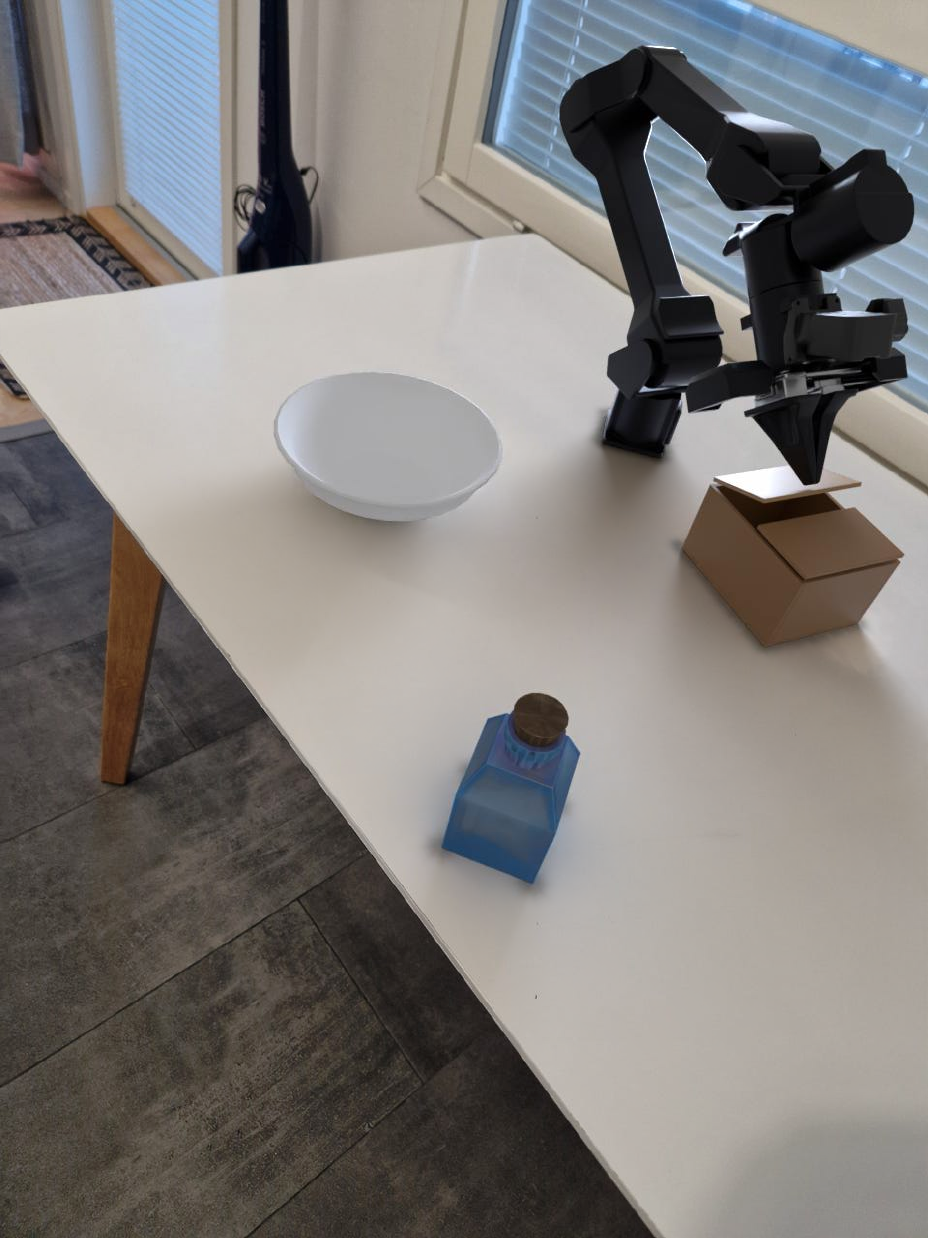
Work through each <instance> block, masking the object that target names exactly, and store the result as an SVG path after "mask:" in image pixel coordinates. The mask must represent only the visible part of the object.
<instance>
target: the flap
mask: <svg viewBox="0 0 928 1238" xmlns="http://www.w3.org/2000/svg"><path fill="white" fill-rule="evenodd" d="M713 482H714V483H715V484H717V483H719V484H721V485H723V486H725V487H728V488H730V489H732V490H735V491H737V492H739V493H741V494H744V495H746V496H748V497H750V498H753V499H755V500H757V501H760V502H762V503H769V502H775V501H781V500H786V499H792V498H798V497H803V496H809V495H815V494H820V493H826V492H828V493H831V492H837V491H843V490H848V489H854V488H859V487H860V488H861V487H862V483H863V482H862V481H860V480H858V479H855V478H851V477H850V476H849V477H848V476H846V475H844V474H840V473H837V472H835V471H832V470H830V469H828V468H825V467H823V470H822V475H821V479H820V482H819V483H818V484H813V485H807V486H804V485H803V484H802V483H801V481H800V480H799V478H798V477H797V476H796V474H795V473H794V471H793V470H792V468H791V467H790V466H789V464H788V465H782V466H775V467H769V468H763V469H762V468H761V469H756V470H749V471H744V472H737V473H730V474H725V475H717V476H713Z"/></svg>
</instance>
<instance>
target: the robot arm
mask: <svg viewBox="0 0 928 1238" xmlns="http://www.w3.org/2000/svg"><path fill="white" fill-rule="evenodd" d="M659 119H661V121H663V122H664V123H665V124H666V125H667V126H668V127H669V128H670V129H671V130H672V131H673V132H675V133H676V134H677V135H678V137H680V138H681V139H682V140H683V141H684V142H685V143H687V144H688V146H690V147H691V148H692V149H693V150H694V151H695V152H696V153H698V154H699V156H700V157H701V159H702V160H703V161H704V163H705V179H706V181H707V183H708V185H709V186H710V187H711V189H712V190H713V192H714V193H715V195H716V196H717V198H718V200H719V201H720V202H721V204H722V205H723V207H725V208H726V209H728V210H729V211H732V212H776V213H772V214H769V215H767V216H766V217H764V218H763V219H760V220H759V221H740V222H737V223H736V224H735V228H734V231H733V233H732V234H731V236H730V237H729V238H728V239H727V240H726V242H725V244H724V246H723V248H722V251H721V253H722V256H723V257H724V258H728V257H729V258H731V257H742V264H743V265H742V266H743V271H744V278H745V285H746V292H747V300H748V307H749V314H747V315H745V316H742V317H741V318H739V321H740V328H741V332H743V331H744V332H745V331H752V336H753V342H754V349H755V350H754V351H755V357H756V359H754V360H742V361H732V362H726V363H724V364H721V362H722V358H723V356H724V347H723V342H722V338H721V336H724V333H725V330H724V329H723V328H722V327H721V325H720V324H719V321H718V318H717V315H716V314H717V313H716V309H715V303H714V301H713V299H712V298H711V296H710V295H708V294H702V295H701V294H700V295H693V294H691V293H690V292H689V291H688V290H687V289H686V287H685V286H684V284H683V280H682V277H681V276H682V275H681V273H680V270H679V266H678V263H677V260H676V257H675V254H674V250H673V247H672V244H671V240H670V238H669V237H670V236H669V234H668V230H667V228H666V223H665V221H664V217H663V214H662V211H661V208H660V204H659V200H658V198H657V194H656V191H655V188H654V185H653V181H652V178H651V175H650V172H649V168H648V165H647V162H646V156H645V154H646V151H647V147H648V143H649V139H650V137H651V133H652V129H653V126H652V125H653V123H655V122H656V121H658V120H659ZM558 120H559V124H560V127H561V131H562V134H563V136H564V139H565V141H566V143H567V146H568V148H569V151H570V153H571V154H572V156H573V159H575V160H576V161H577V162H578V163H579V164H580V165H581V166H582V167H583V168H584V169H585V170H587V172H589V173H590V174H591V175H592V176H593V177H594V179H595V180H596V183H597V187H598V189H599V193H600V196H601V200H602V203H603V206H604V210H605V213H606V216H607V220H608V223H609V227H610V230H611V233H612V237H613V240H614V243H615V247H616V250H617V253H618V254H617V255H618V258H619V260H620V264H621V268H622V270H623V274H624V277H625V281H626V285H627V288H628V290H629V294H630V298H631V301H632V306H633V313H632V316H631V320H630V323H629V327H628V330H627V334H626V343H627V344H626V346H624V347H622V348H620V349H618V350H615V351H614V352H612V353H609V354H608V356H607V367H606V377H607V378H608V379H609V380H610V381H611V382H612V383H613V384H614V385H615V387H616V391H615V394H614V397H613V400H612V404H611V407H610V408H608V410H607V412H606V417H605V421H604V428H603V433H602V439H601V441H602V443H604V444H606V445H610V446H614V447H616V448H617V447H618V448H621V449H624V450H628V451H633V452H637V453H640V454H644V455H648V456H652V457H655V458H662V457H663V456H664V454H665V446H668V445H670V444H671V441H672V439H673V437H674V434H675V431H676V428H677V426H678V424H679V421H680V418H681V416H682V413H683V400H682V394H683V393H684V395H685V401H686V408H687V413H688V414H689V415H690V414H699V413H706V412H707V413H708V412H715V411H717V410H720V408H721V406H722V405H723V404H724V403H726V402H728V401H733V400H735V399H740V398H748V397H754V399H753V402H754V407H753V408H750V409H747V410H744V411H743V415H744V417H745V418H752V419H753V420H754V422H755V423H756V424H757V425H758V426H759V427H760V429H761V430H762V432H764V433H765V434H766V436H767V437H768V438H769V440H770V441H771V442H772V443H773V445H774V446H775V447H776V449H777V450H778V452H779V453H780V454H781V456H782V457H783V458H784V460H785V461H786V463H787V464H788V465H789V466H790V467H791V468H792V470H793V471H794V473H795V474H796V476H797V477H798V478H799V480H800V481H801V483H802V484H803V485H804V486H807V485H813V484H818V483H819V482H820V479H821V475H822V470H823V468H824V465H825V461H826V456H827V451H828V447H829V446H828V445H829V441H830V438H831V434H832V429H833V426H834V423H835V420H836V417H837V415H838V413H839V411H840V410H841V409H842V407H844V405H845V404H846V403H847V401H848V400H849V399H850V398H851V399H852V398H854V397H856V396H857V394H858V393H862V392H865V391H868V390H873V389H876V388H879V387H884V386H887V385H890V384H893V383H897V382H901V381H904V380H907V379H908V378H909V375H908V367H907V359H906V355H905V354H904V353H903V352H901V351H900V350H899V349H897V348H896V347H894V346H893V343H896V342H898V343H899V342H901V341H902V340H903V339H904V338H905V337H906V335H907V334H908V332H909V325H908V320H909V319H908V314H907V310H906V305H905V301H904V298H903V297H878V298H872V299H871V300H870V301H869V303H868V305H867V306H866V308H865V310H843V307H842V301H841V298H840V297H839V295H838V294H837V292H827V293H825V288H824V282H823V274H822V272H824V273H834V272H836V271H839V270H841V269H844V268H846V267H848V266H850V265H853V264H854V263H855V264H856V262H858V261H861V260H864V259H866V258H867V257H870V256H871V255H875V254H876V253H879V252H880V251H882V250H884V249H887V248H889V247H891V246H893V245H895V244H898V243H900V242H901V241H903V240H904V239H905V238H906V237H907V236H908V234H909V233H910V231H911V230H912V226H913V223H914V219H915V200H914V195H913V193H912V192H909V189H908V186H907V184H906V182H905V181H904V179H903V177H902V176H901V175H900V174H899V173H898V172H897V170H895V169H894V168H893V167H892V166H890V165H888V159H887V151H886V149H884V148H862V149H860V150H859V151H857V152H856V153H854V154H853V155H851V156H850V157H848V159H847V160H845V162H844V163H842V164H841V165H839V166H838V167H836V168H835V167H834V166H833V165H832V164H830V163H829V162H828V160H826V159H825V158H824V157H823V156H822V147H821V145H820V142H819V141H818V139H817V138H816V137H815V136H814V135H813V134H811V133H810V132H807V131H805V130H803V129H800V128H798V127H795V126H794V125H790V124H788V123H785V122H782V121H778V120H773V119H771V118H766V117H763V116H760V115H758V114H754V113H752V112H750V111H749V110H748V109H747V108H746V107H744V106H743V105H742V104H741V103H739V102H738V101H737V100H736V99H734V98H733V97H732V96H731V95H730V94H729V93H727V92H726V91H724V89H722V88H721V87H720V86H718V84H716V83H715V82H714V81H712V80H711V78H709V77H708V76H707V75H705V74H704V73H703V72H702V71H700V69H698V68H697V67H696V66H694V65H693V64H692V63H690V62H689V61H688V58H687V56H686V55H685V53H684V52H683V51H680V49H678V48H675V47H668V46H657V45H656V46H655V45H643V44H642V45H639V46H637V47H635V48H632V49H630V50H629V51H628V52H626V53H625V54H624V55H623V56H622V57H621V58H620V59H617V60H615V61H613V62H611V63H608V64H605V65H604V66H602V67H599V68H597V69H595V70H592V71H590V72H588V73H586V74H585V75H584V76H583V77H579V78H578V79H575V80H574V82H573V83H572V84H571V86H570V87H569V89H568V90H566V92H565V93H564V94H563V96H562V97H561V101H560V104H559V110H558ZM783 211H784V212H790V211H792V212H790V213H788V214H787V213H783ZM777 212H778V213H777Z"/></svg>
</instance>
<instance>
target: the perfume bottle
mask: <svg viewBox="0 0 928 1238" xmlns="http://www.w3.org/2000/svg"><path fill="white" fill-rule="evenodd" d="M569 721H570V717H569V714H568V710H567V709H566V707H565V705H564V704H563V703H562V702H561V701H560V700H558V699H557V697H556V698H555V697H554V696H552V695H550V694H546V693H543V692H530V693H527V694H523V695H522V696H520V698H518V699H517V700H516V702H515V703H514V706H513V709H512V710H511V711H510V713H508V712H504V713H501V714H498V715H494V716H491V717H488V718H487V719H486V722H485V724H484V726H483V728H482V731H481V734H480V736H479V738H478V741H477V743H476V746H475V747H474V750H473V753H472V755H471V757H470V759H469V761H468V764H467V767H466V770H465V772H464V774H463V776H462V778H461V781H460V784H459V786H458V788H457V791H456V792H455V793H456V794H455V796H454V800H453V804H452V807H451V811H450V814H449V818H448V821H447V826H446V829H445V831H444V836H443V839H442V844H441V848H440V849H444V850H446V851H449V852H451V853H454V854H456V855H459V856H461V857H464V858H466V859H468V860H470V861H473V862H476V863H478V864H481V865H483V866H486V867H489V868H491V869H494V870H497V871H499V872H502V873H504V874H506V875H509V876H512V877H513V878H517V879H519V880H522V881H524V882H527V883H529V884H532V885H534V883H535V882H536V879H537V876H538V875H539V872H540V870H541V867H542V866H543V863H544V861H545V859H546V856H547V855H548V852H549V851H550V847H551V846H552V843H553V842H554V839H555V836H556V835H557V832H558V828H559V825H560V821H561V818H562V815H563V811H564V808H565V806H566V801H567V798H568V795H569V791H570V789H571V786H572V783H573V778H574V775H575V772H576V769H577V765H578V762H579V759H580V756H581V751H580V750H579V749H578V747H577V745H576V744H575V743H574V741H573V740H572V738H571V737H570V736H569V735H567V727H568V725H569Z"/></svg>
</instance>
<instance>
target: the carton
mask: <svg viewBox="0 0 928 1238" xmlns="http://www.w3.org/2000/svg"><path fill="white" fill-rule="evenodd" d="M681 550H682V551H683V552H684V553H685V554H686V555H687V556H688V558H689V559H690V560H691V561H692V562H693V563H694V565H695V566H696V567H697V569H698V570H699V571H700V572H701V573H702V575H703V576H704V577H705V578H706V579H707V580H708V581H709V583H710V584H711V585H712V586H713V588H714V589H715V590H716V591H717V592H718V594H720V596H721V598H723V600H724V601H725V602H726V603H727V604H728V606H729V607H730V608H731V609H732V611H734V613H735V614H736V615H737V616H738V618H739V619H740V620H741V621H742V622H743V624H744V625H745V626H746V627H747V628H748V630H749V631H750V632H751V633H752V634H753V635H754V637H755V638H756V639H757V640H758V642H759V643H760V644H761V645H762V646H763V647H764V648H767V647H770V646H771V647H772V646H774V645H775V646H776V645H778V644H783V643H787V642H790V641H794V640H797V639H801V638H805V637H809V636H813V635H817V634H821V633H825V632H829V631H832V630H837V629H841V628H844V627H849V626H852V625H856V624H859V623H860V621H861V620H862V618H863V617H864V616H865V614H866V613H867V611H868V610H869V609H870V607H871V606H872V604H873V603H874V601H875V600H876V598H877V597H878V595H879V594H880V593H881V591H882V590H883V588H884V587H885V586H886V584H887V583H888V581H889V580H890V578H891V577H892V576H893V574H894V572H895V571H896V570H897V568H898V567H899V565H900V564H901V560H900V559H903V557H905V553H904V552H903V551H902V550H901V549H900V547H898V546H896V544H895V543H893V542H892V540H891V539H889V538H888V537H887V536H886V535H885V534H884V533H883V532H882V531H881V530H879V528H878V527H877V526H875V524H873V523H872V522H871V521H870V520H869V519H868V518H867V517H866V516H865V515H864V514H863V513H862V512H861V511H859V510H858V509H857V508H856V507H855V506H853V507H847V508H845V506H843V505H842V504H841V503H840V502H839V501H838V500H836V499H835V498H834V497H833V496H832V495H831V494H830V492H826V493H820V494H815V495H809V496H803V497H798V498H792V499H786V500H781V501H775V502H769V503H762V502H760V501H757V500H755V499H753V498H750V497H748V496H746V495H744V494H741V493H739V492H737V491H735V490H732V489H730V488H728V487H725V486H723V485H721V484H719V483H712V484H711V483H710V484H709V486H708V488H707V491H706V493H705V495H704V497H703V499H702V501H701V504H700V506H699V509H698V511H697V513H696V515H695V517H694V519H693V522H692V524H691V526H690V528H689V531H688V533H687V535H686V537H685V539H684V542H683V544H682V546H681Z"/></svg>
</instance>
